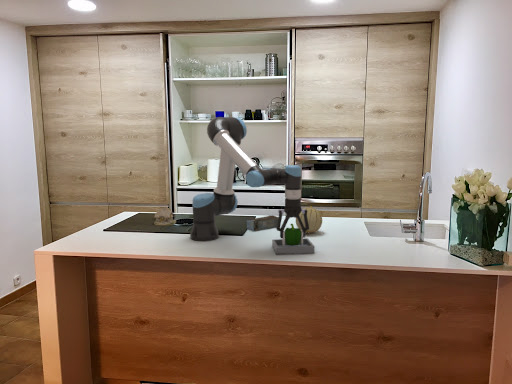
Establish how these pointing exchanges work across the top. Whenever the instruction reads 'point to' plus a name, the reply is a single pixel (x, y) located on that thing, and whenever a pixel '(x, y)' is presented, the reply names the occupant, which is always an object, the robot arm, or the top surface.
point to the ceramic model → (164, 217)
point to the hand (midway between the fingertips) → (292, 244)
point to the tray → (293, 247)
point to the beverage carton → (262, 223)
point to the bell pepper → (292, 236)
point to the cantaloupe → (311, 220)
